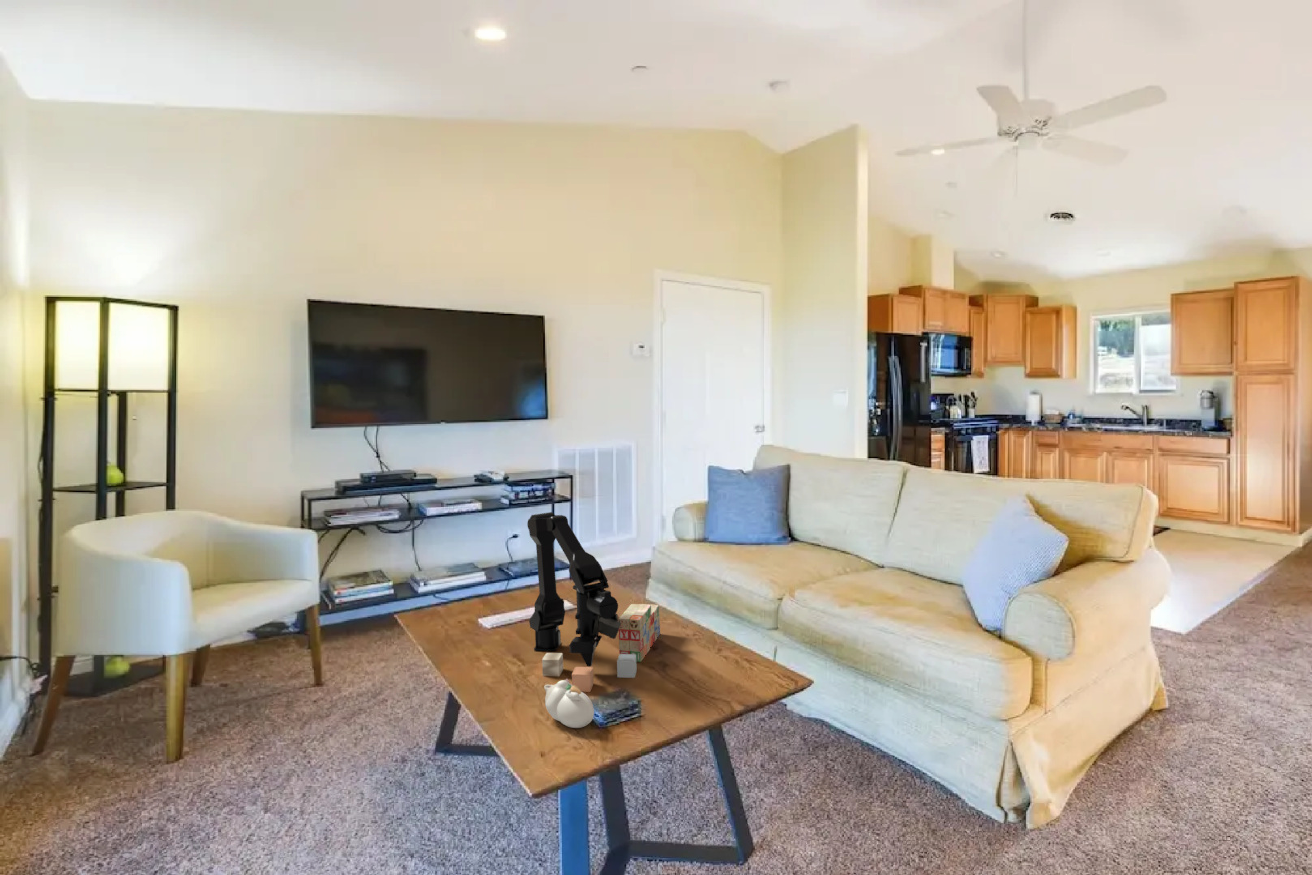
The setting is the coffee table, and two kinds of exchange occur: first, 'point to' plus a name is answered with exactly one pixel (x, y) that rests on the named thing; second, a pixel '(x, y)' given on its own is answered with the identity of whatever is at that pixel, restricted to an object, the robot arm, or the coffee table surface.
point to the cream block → (552, 664)
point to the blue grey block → (626, 665)
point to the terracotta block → (583, 678)
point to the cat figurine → (568, 704)
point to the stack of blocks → (638, 629)
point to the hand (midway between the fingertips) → (589, 665)
